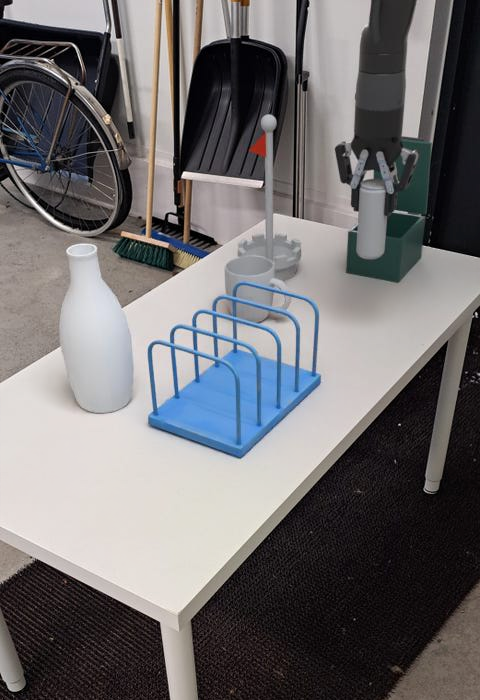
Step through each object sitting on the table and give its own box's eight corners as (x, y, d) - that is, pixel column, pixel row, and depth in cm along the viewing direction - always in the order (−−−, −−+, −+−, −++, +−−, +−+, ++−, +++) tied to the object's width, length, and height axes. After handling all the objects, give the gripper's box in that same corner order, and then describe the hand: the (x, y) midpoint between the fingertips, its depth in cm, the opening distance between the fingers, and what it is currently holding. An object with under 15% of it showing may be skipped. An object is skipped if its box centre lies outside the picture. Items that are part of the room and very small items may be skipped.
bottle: (111, 425, 135) (87, 271, 118) (56, 406, 139) (26, 256, 123) (152, 392, 142) (135, 242, 125) (99, 375, 146) (76, 229, 130)
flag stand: (269, 252, 183) (268, 100, 164) (314, 269, 176) (318, 113, 156) (225, 271, 177) (218, 115, 157) (269, 290, 169) (268, 129, 150)
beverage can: (383, 249, 149) (389, 178, 141) (384, 260, 145) (390, 188, 137) (355, 248, 149) (359, 178, 141) (356, 260, 145) (360, 188, 138)
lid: (430, 144, 162) (439, 133, 165) (374, 137, 167) (384, 126, 170) (425, 215, 173) (433, 203, 176) (372, 206, 177) (381, 195, 180)
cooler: (398, 282, 170) (402, 240, 165) (345, 272, 174) (348, 230, 169) (421, 257, 179) (425, 216, 173) (370, 248, 183) (373, 208, 178)
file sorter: (240, 459, 127) (237, 368, 117) (147, 426, 134) (137, 338, 124) (321, 383, 142) (324, 297, 132) (234, 357, 150) (230, 274, 140)
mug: (218, 321, 160) (216, 270, 153) (239, 302, 166) (238, 252, 159) (280, 334, 155) (280, 282, 149) (299, 314, 161) (300, 263, 155)
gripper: (432, 99, 131) (421, 210, 142) (346, 91, 136) (341, 199, 147) (416, 112, 126) (406, 226, 137) (327, 103, 131) (324, 214, 143)
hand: (372, 211), depth 142 cm, fingers closed on beverage can, 5 cm apart
